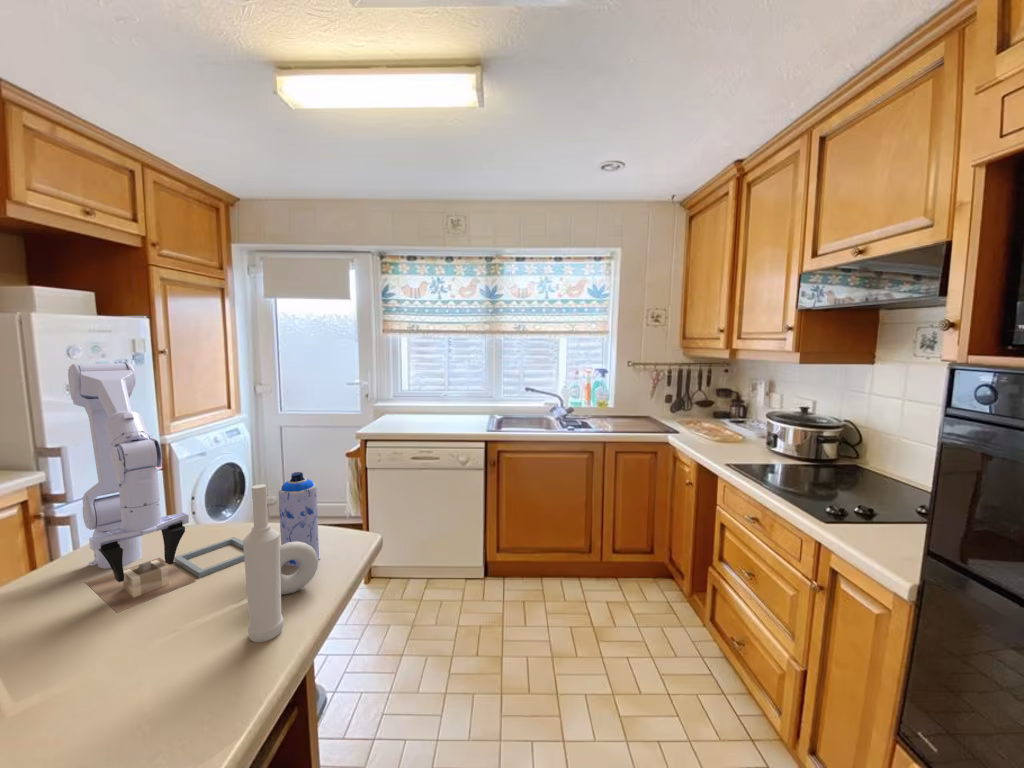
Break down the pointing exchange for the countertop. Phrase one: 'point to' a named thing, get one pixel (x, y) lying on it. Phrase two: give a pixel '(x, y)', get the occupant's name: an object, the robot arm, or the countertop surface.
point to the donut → (306, 567)
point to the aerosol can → (298, 513)
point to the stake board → (123, 600)
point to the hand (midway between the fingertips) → (145, 571)
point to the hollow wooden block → (145, 579)
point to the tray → (197, 570)
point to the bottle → (263, 572)
